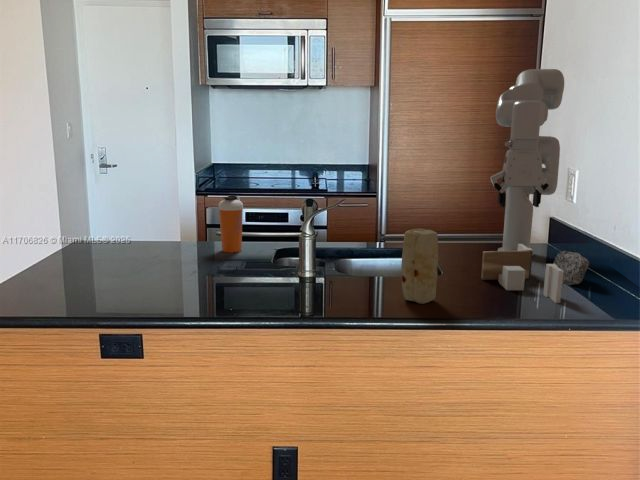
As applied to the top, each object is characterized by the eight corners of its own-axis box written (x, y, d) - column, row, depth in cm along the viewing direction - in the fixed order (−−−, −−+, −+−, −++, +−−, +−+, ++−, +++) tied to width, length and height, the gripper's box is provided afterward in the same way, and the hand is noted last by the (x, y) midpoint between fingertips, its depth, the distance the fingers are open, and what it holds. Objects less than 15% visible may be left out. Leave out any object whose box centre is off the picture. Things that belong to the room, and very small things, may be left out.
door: (479, 278, 182) (481, 250, 180) (527, 277, 184) (529, 249, 182) (482, 280, 179) (484, 252, 177) (530, 279, 181) (533, 251, 179)
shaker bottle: (216, 252, 212) (214, 198, 207) (224, 247, 220) (222, 194, 216) (240, 254, 210) (238, 198, 206) (247, 248, 219) (246, 195, 214)
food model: (433, 297, 163) (437, 227, 159) (438, 305, 157) (442, 232, 152) (398, 297, 163) (401, 226, 159) (402, 304, 157) (405, 231, 152)
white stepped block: (523, 290, 170) (525, 270, 169) (506, 290, 170) (508, 270, 169) (514, 282, 178) (516, 263, 177) (498, 282, 178) (499, 263, 177)
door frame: (553, 302, 159) (556, 270, 157) (513, 270, 191) (516, 243, 189) (562, 302, 159) (565, 271, 157) (521, 270, 191) (523, 243, 189)
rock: (591, 288, 172) (593, 254, 171) (561, 286, 173) (564, 252, 172) (574, 282, 187) (577, 251, 187) (547, 280, 188) (550, 249, 188)
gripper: (497, 146, 160) (492, 208, 164) (559, 147, 160) (554, 208, 164) (489, 144, 167) (485, 204, 171) (549, 145, 168) (543, 204, 171)
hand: (518, 206), depth 168 cm, fingers open, 9 cm apart
